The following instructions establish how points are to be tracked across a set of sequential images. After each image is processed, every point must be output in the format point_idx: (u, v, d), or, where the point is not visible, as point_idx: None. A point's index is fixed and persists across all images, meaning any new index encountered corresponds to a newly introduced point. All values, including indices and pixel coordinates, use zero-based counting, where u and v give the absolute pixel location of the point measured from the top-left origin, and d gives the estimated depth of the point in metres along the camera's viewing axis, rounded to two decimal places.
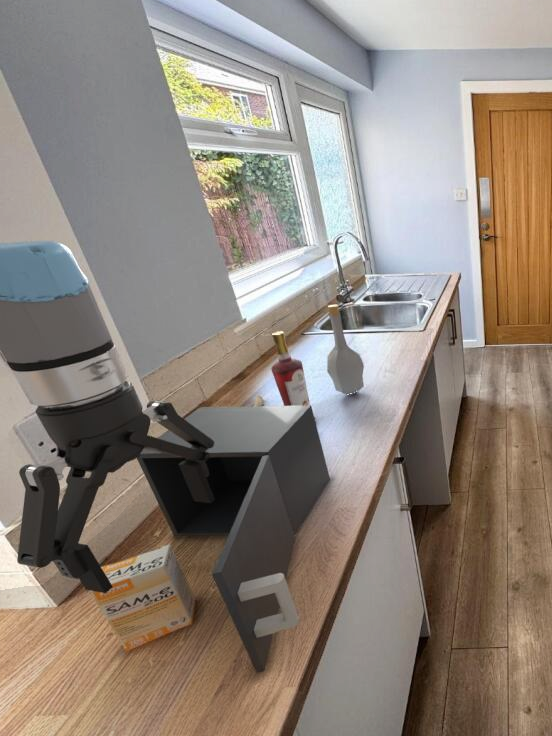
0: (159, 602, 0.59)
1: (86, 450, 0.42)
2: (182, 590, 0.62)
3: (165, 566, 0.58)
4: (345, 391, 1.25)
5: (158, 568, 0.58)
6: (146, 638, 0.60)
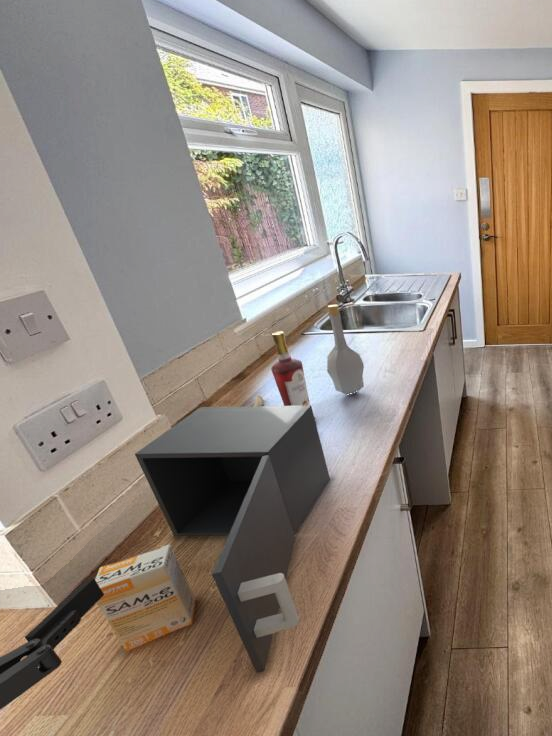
0: (159, 602, 0.59)
1: None
2: (182, 590, 0.62)
3: (165, 566, 0.58)
4: (345, 391, 1.25)
5: (158, 568, 0.58)
6: (146, 638, 0.60)
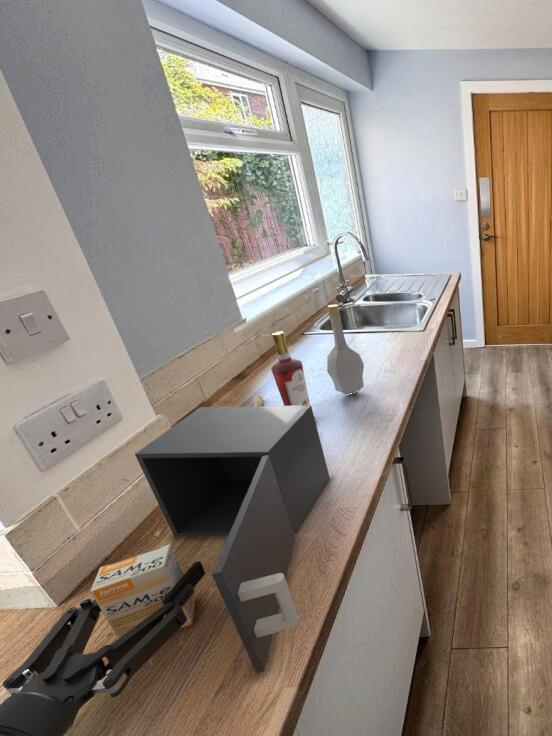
0: (159, 602, 0.59)
1: None
2: None
3: (165, 566, 0.58)
4: (345, 391, 1.25)
5: (158, 568, 0.58)
6: None
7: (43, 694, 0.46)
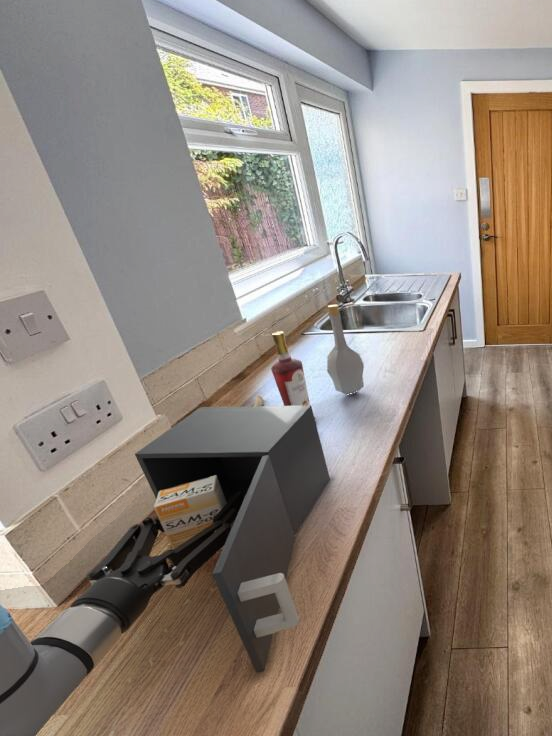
0: (209, 523, 0.69)
1: None
2: None
3: (214, 491, 0.68)
4: (345, 391, 1.25)
5: (209, 491, 0.67)
6: None
7: (124, 579, 0.55)
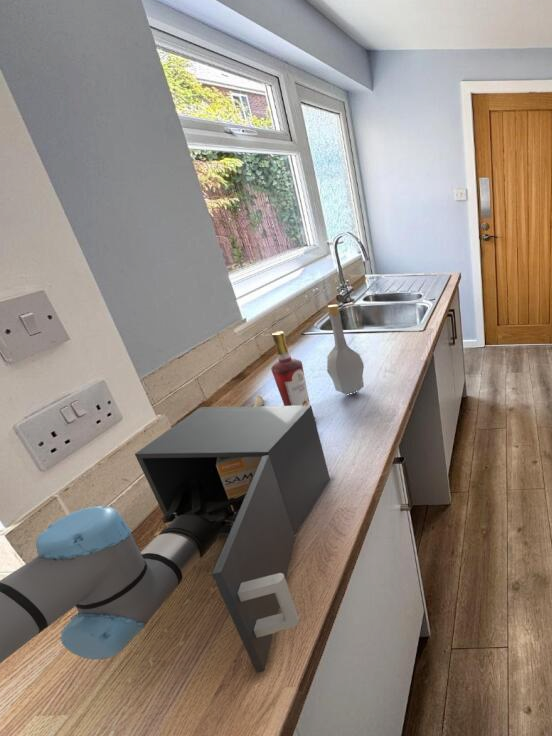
0: None
1: None
2: None
3: None
4: (345, 391, 1.25)
5: None
6: None
7: (199, 515, 0.68)
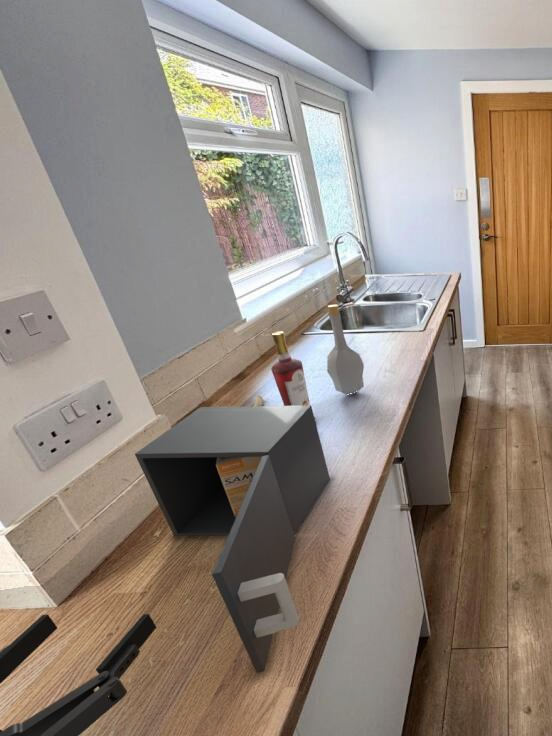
0: None
1: None
2: None
3: None
4: (345, 391, 1.25)
5: None
6: None
7: None
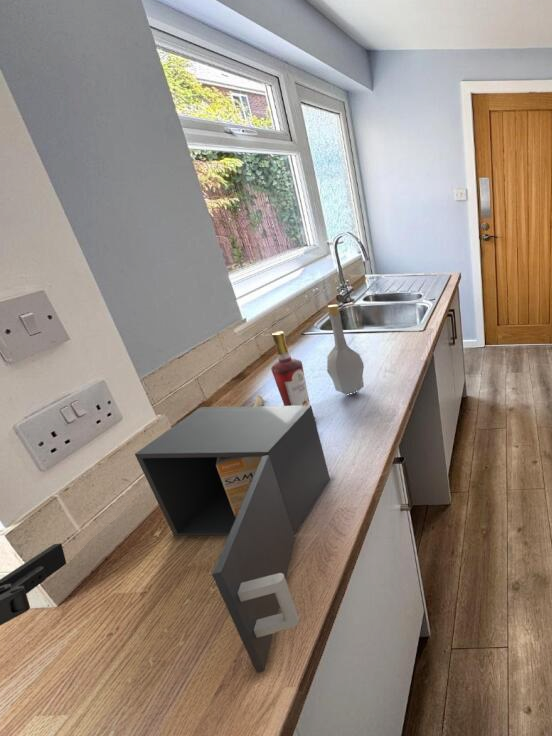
0: None
1: None
2: None
3: None
4: (345, 391, 1.25)
5: None
6: None
7: None
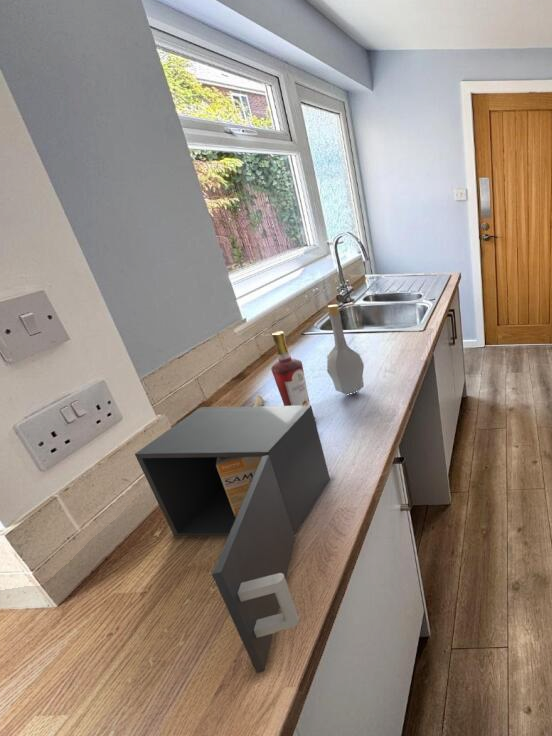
0: None
1: None
2: None
3: None
4: (345, 391, 1.25)
5: None
6: None
7: None
